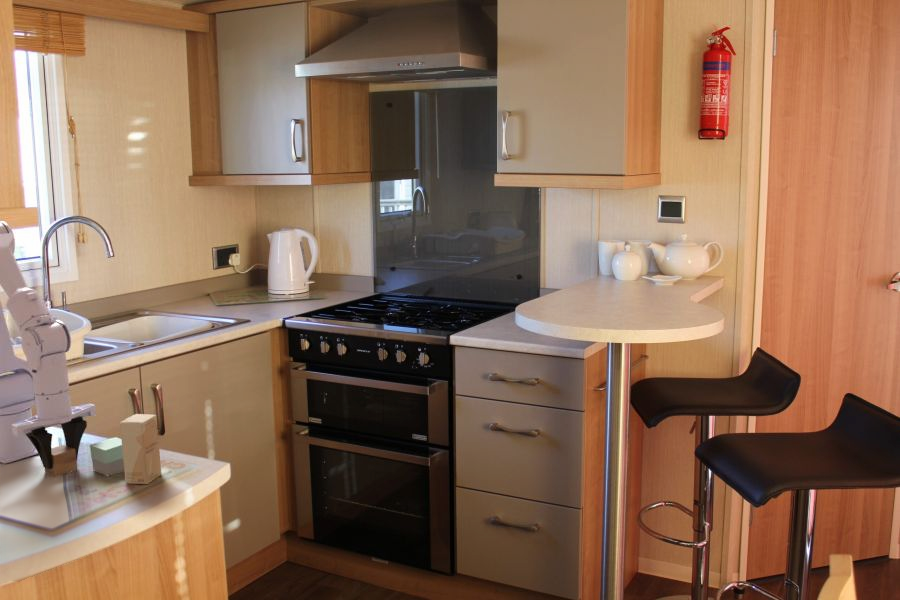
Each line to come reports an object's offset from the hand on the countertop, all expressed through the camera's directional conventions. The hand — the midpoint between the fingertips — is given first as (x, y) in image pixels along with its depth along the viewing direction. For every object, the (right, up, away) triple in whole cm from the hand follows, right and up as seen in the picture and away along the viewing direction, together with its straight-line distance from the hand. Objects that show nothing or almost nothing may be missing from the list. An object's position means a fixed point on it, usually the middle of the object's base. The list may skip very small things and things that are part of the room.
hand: (60, 463), depth 161 cm
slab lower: (+9, -1, +1) cm, 9 cm away
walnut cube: (0, -1, 0) cm, 1 cm away
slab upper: (+9, +1, 0) cm, 9 cm away
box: (+17, -2, -5) cm, 17 cm away
